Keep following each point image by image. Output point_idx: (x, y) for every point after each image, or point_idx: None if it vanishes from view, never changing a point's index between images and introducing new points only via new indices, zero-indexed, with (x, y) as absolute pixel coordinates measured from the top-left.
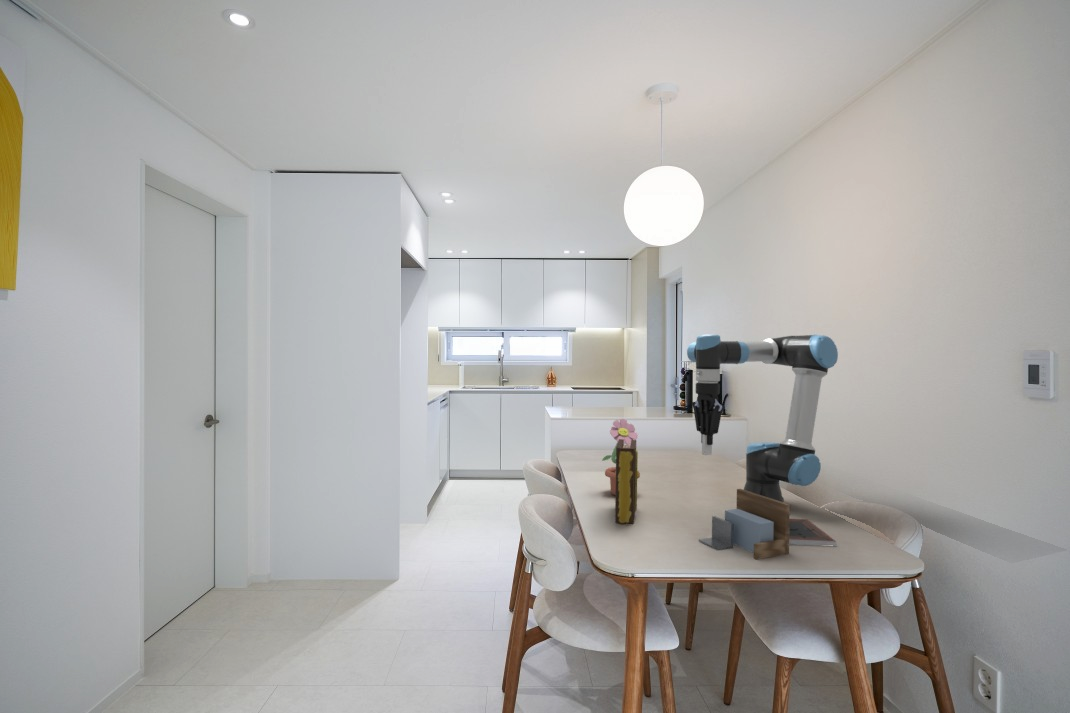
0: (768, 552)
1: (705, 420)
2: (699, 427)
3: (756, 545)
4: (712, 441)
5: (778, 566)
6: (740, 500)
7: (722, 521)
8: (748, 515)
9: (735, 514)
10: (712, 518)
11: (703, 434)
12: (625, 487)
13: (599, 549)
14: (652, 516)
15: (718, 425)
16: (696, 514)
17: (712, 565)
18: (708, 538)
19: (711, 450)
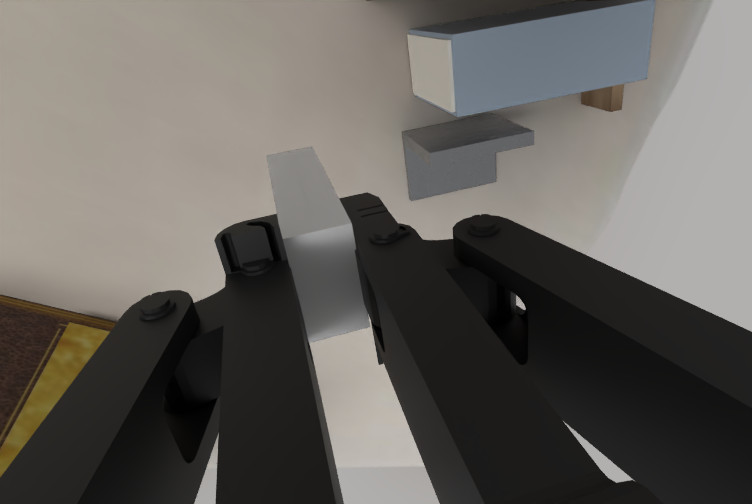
0: None
1: (333, 463)
2: (217, 414)
3: (620, 109)
4: (385, 209)
5: (652, 67)
6: None
7: (487, 153)
8: (551, 53)
9: (518, 104)
10: (429, 163)
11: (317, 330)
12: None
13: (398, 459)
14: (94, 250)
15: (605, 280)
16: (52, 21)
17: (573, 246)
18: (410, 162)
19: (317, 159)
